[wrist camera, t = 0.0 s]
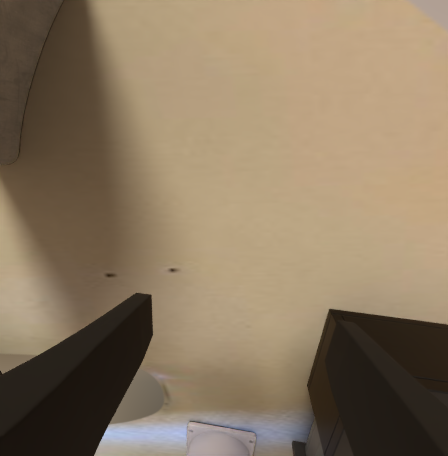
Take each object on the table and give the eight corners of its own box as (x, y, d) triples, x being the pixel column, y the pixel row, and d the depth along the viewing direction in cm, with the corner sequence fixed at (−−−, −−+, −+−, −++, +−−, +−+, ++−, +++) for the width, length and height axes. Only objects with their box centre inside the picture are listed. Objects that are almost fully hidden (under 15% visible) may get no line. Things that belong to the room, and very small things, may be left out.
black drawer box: (454, 408, 22) (531, 507, 16) (306, 384, 23) (327, 470, 17) (503, 331, 19) (623, 420, 13) (329, 308, 20) (363, 380, 14)
